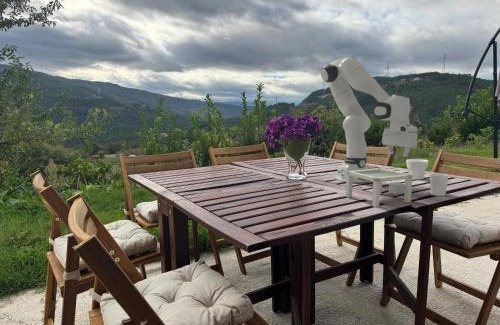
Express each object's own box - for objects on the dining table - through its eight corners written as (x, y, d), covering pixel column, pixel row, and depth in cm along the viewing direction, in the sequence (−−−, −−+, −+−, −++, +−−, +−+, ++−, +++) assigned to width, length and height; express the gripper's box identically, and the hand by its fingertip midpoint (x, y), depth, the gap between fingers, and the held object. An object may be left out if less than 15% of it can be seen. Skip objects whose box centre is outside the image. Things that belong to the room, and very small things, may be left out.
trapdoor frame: (345, 196, 182) (346, 171, 180) (378, 193, 190) (379, 168, 188) (375, 207, 163) (376, 178, 161) (410, 202, 170) (412, 175, 169)
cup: (428, 177, 230) (429, 159, 228) (425, 180, 220) (427, 162, 218) (407, 175, 237) (408, 158, 235) (403, 179, 226) (404, 160, 225)
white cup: (439, 197, 180) (441, 176, 179) (425, 193, 187) (426, 174, 186) (450, 195, 184) (451, 175, 182) (436, 192, 191) (437, 172, 189)
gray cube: (388, 192, 191) (389, 183, 190) (396, 191, 193) (396, 182, 192) (396, 194, 186) (396, 184, 185) (403, 193, 188) (404, 183, 187)
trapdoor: (356, 179, 179) (356, 172, 178) (379, 177, 184) (379, 170, 184) (376, 184, 166) (376, 177, 166) (400, 182, 171) (401, 175, 171)
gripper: (379, 126, 193) (378, 153, 195) (410, 128, 174) (408, 158, 176) (389, 126, 195) (388, 152, 197) (420, 128, 177) (418, 157, 179)
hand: (398, 155), depth 187 cm, fingers open, 8 cm apart
